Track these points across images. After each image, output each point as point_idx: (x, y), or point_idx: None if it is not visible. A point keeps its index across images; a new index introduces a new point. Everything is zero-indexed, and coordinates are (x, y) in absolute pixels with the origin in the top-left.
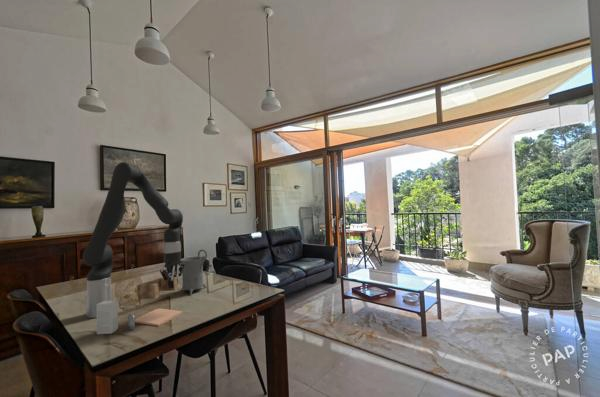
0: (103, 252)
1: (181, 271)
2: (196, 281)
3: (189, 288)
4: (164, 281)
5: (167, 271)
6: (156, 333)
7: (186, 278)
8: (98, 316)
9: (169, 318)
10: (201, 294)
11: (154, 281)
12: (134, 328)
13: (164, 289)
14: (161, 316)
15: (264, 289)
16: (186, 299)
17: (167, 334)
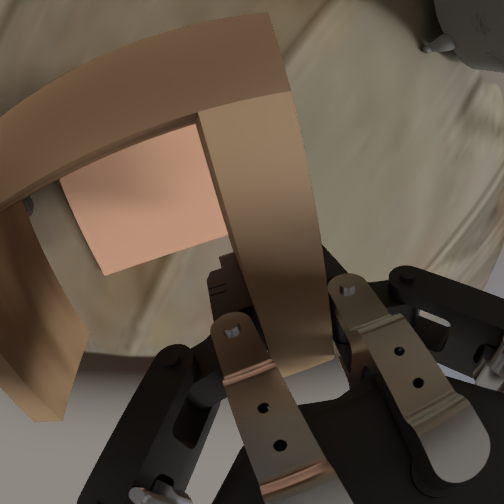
0: None
1: (436, 350)
2: (491, 62)
3: (449, 32)
4: (220, 199)
5: (229, 471)
6: (85, 319)
7: (487, 15)
8: None
9: (162, 255)
10: (443, 96)
11: (58, 171)
12: (29, 216)
13: (208, 168)
14: (148, 197)
15: (482, 275)
16: (384, 70)
17: (112, 349)
